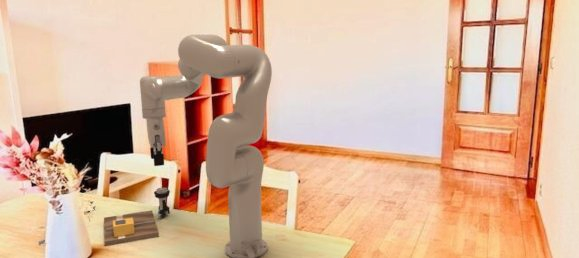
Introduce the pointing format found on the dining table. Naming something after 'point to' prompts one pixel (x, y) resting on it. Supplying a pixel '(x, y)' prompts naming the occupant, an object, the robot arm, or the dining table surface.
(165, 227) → the dining table surface
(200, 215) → the dining table surface
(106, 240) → the board
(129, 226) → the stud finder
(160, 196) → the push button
